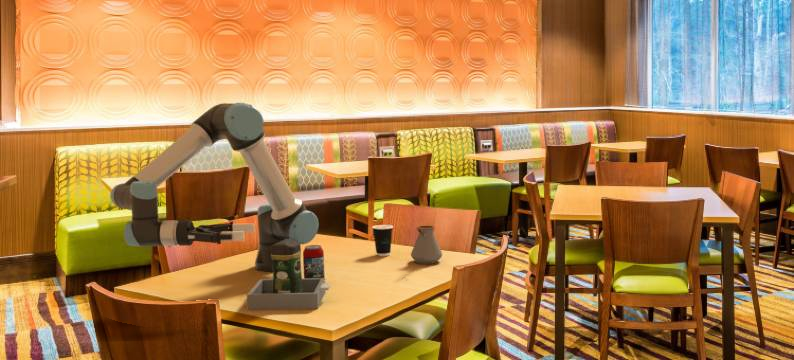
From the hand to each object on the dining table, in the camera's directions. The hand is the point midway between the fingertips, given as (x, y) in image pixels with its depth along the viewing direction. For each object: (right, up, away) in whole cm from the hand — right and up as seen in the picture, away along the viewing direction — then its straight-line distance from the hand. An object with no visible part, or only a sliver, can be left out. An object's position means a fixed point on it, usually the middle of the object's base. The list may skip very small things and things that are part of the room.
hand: (249, 232), depth 224 cm
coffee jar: (+11, -21, +2) cm, 24 cm away
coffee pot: (+54, -15, +46) cm, 72 cm away
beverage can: (+17, -18, +24) cm, 35 cm away
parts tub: (+12, -21, +2) cm, 24 cm away
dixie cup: (+39, -13, +64) cm, 76 cm away
